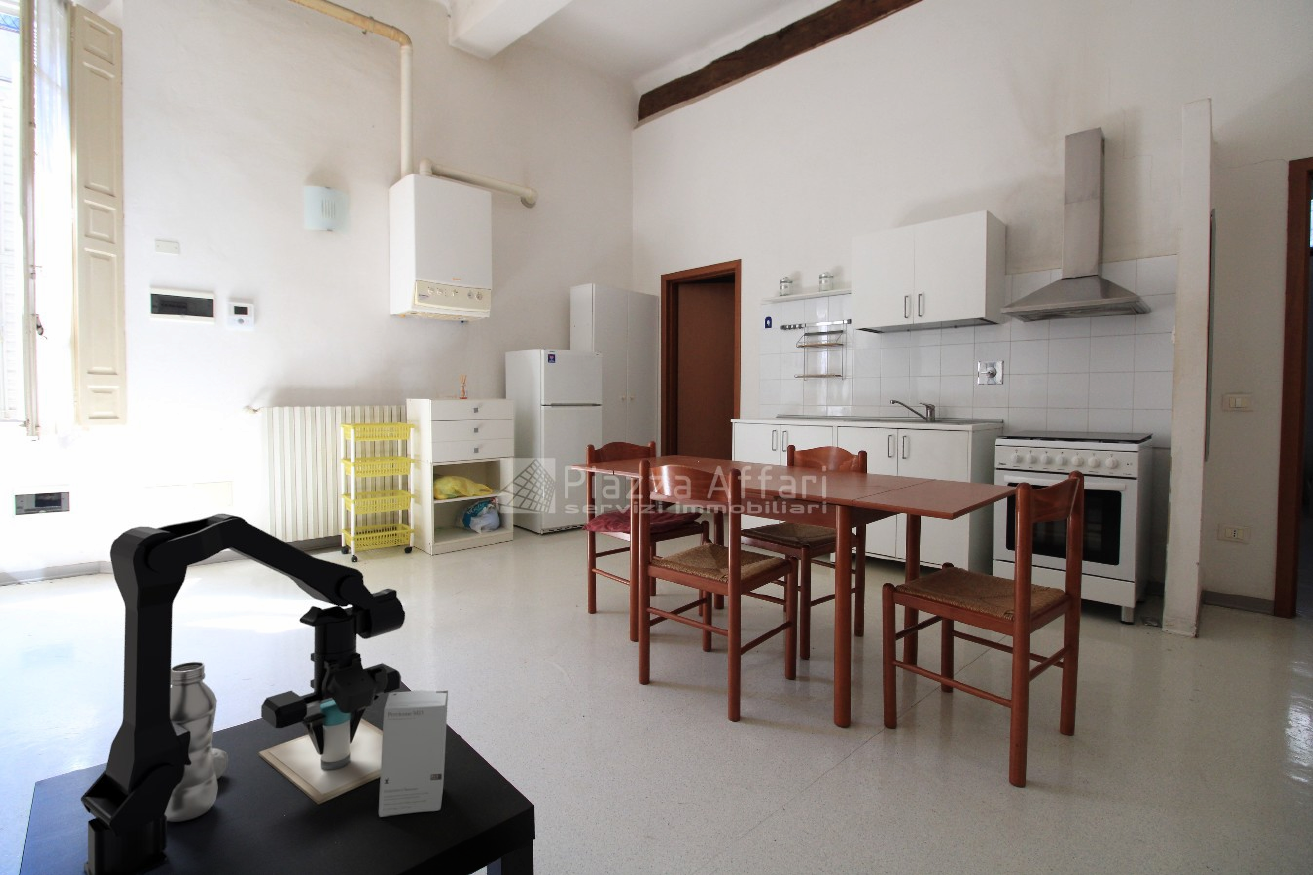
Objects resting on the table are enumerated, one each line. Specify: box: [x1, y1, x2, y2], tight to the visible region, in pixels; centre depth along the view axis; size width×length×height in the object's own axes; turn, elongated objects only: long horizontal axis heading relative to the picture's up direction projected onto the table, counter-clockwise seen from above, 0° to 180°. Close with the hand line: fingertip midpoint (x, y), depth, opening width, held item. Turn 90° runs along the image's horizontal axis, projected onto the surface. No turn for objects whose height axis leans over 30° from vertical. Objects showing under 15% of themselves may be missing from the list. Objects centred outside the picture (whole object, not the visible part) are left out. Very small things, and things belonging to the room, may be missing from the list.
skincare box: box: [378, 689, 449, 818], centre depth 90 cm, size 8×6×15 cm
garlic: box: [212, 747, 229, 781], centre depth 94 cm, size 6×5×5 cm
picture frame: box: [258, 717, 383, 805], centre depth 102 cm, size 16×20×1 cm
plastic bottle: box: [165, 661, 219, 823], centre depth 86 cm, size 6×7×20 cm
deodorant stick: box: [320, 700, 351, 770], centre depth 99 cm, size 4×4×9 cm
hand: (334, 748), depth 99 cm, fingers closed on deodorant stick, 4 cm apart
